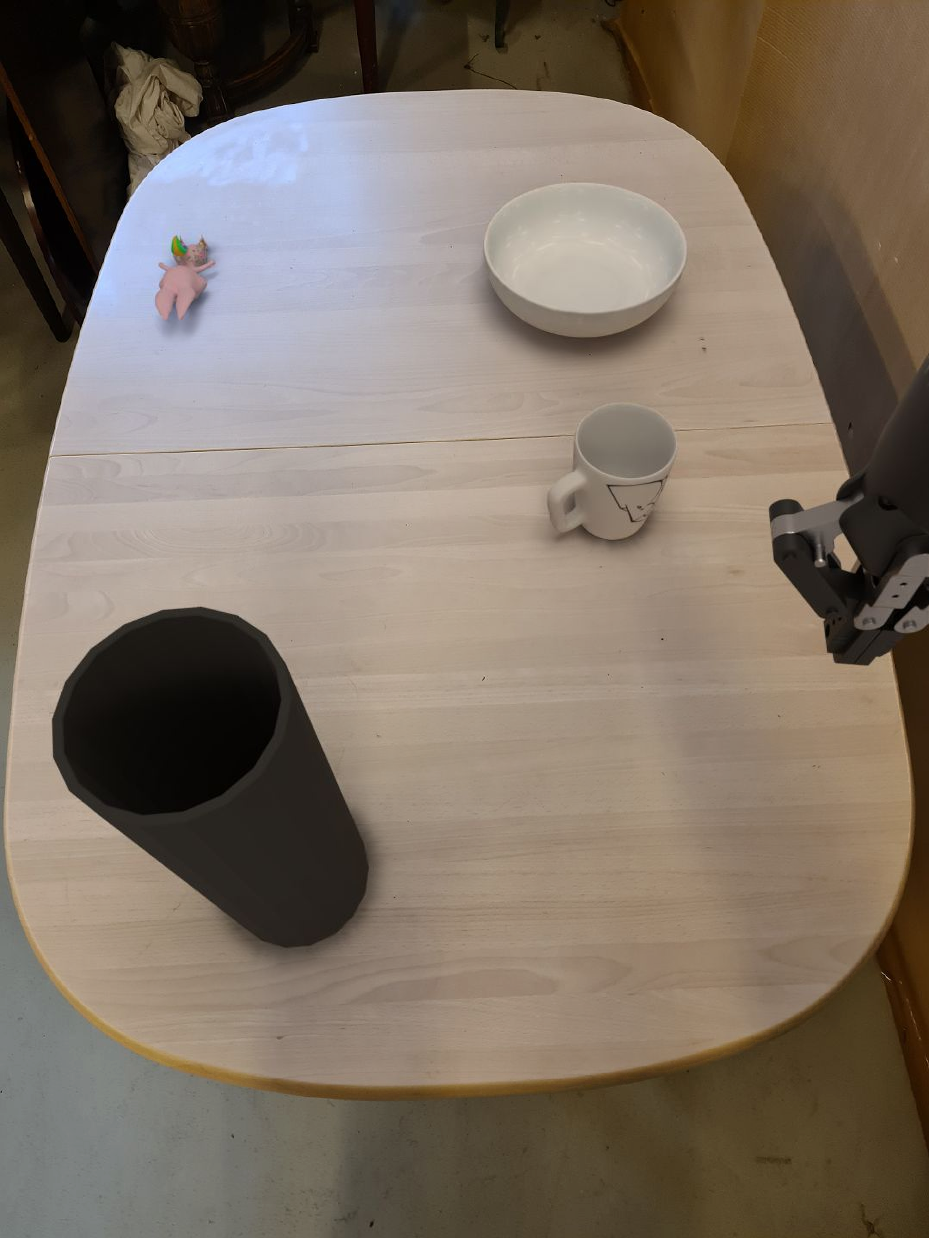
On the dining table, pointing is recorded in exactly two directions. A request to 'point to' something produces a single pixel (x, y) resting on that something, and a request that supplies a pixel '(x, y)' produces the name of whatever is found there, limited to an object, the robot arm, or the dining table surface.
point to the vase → (214, 770)
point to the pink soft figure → (182, 278)
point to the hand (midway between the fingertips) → (847, 647)
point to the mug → (615, 471)
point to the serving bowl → (583, 258)
